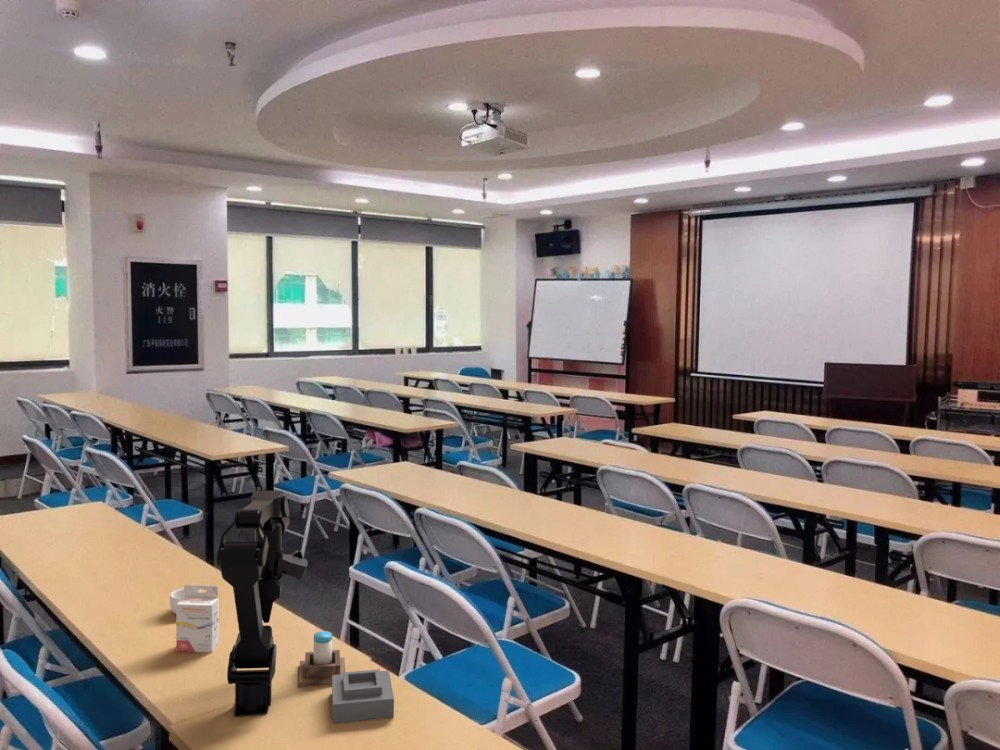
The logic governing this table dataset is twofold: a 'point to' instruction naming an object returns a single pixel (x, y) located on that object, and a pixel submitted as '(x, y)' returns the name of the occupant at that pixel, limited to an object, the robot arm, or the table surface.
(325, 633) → the plug
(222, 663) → the table surface
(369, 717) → the upper dock
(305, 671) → the low dock
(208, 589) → the ink cartridge box
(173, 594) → the teacup
